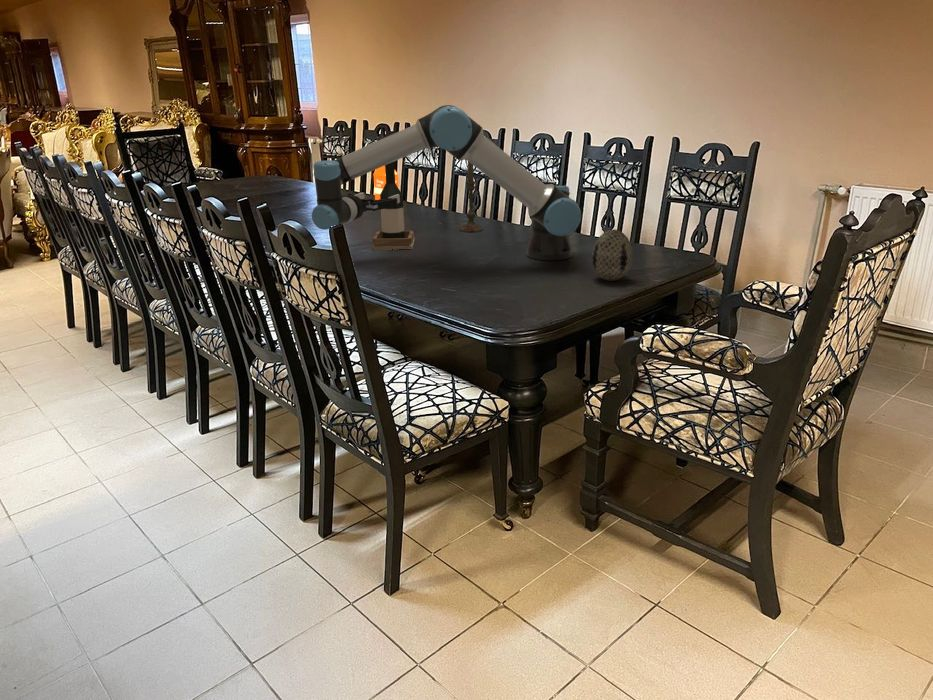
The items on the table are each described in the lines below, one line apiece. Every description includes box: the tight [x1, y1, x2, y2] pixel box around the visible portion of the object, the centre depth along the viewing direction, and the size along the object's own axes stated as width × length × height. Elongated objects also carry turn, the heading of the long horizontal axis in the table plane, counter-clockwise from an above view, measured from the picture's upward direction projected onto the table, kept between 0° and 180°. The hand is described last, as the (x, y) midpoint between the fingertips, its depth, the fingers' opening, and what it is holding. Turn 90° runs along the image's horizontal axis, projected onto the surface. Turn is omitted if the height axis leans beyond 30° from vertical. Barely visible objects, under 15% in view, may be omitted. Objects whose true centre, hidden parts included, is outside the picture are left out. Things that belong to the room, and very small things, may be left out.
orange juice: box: [373, 166, 400, 200], centre depth 316 cm, size 8×9×20 cm
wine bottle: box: [380, 161, 406, 238], centre depth 242 cm, size 8×8×30 cm
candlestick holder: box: [459, 161, 484, 233], centre depth 265 cm, size 9×9×30 cm
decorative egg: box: [591, 229, 634, 282], centre depth 202 cm, size 12×12×15 cm
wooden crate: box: [371, 230, 416, 251], centre depth 248 cm, size 14×14×4 cm
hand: (380, 197), depth 234 cm, fingers open, 13 cm apart
